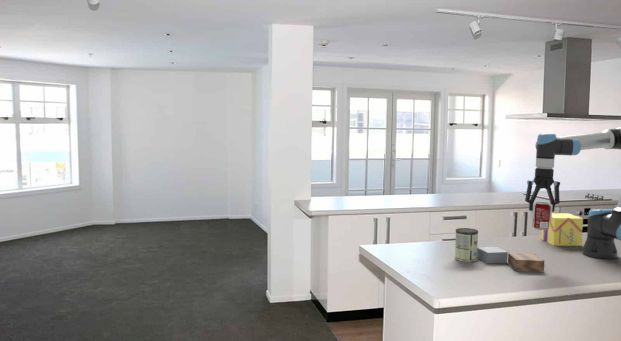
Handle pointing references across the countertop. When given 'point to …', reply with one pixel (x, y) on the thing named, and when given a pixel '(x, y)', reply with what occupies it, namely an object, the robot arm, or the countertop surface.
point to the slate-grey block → (492, 254)
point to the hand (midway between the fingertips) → (541, 218)
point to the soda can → (541, 216)
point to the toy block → (563, 230)
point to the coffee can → (466, 244)
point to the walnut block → (526, 262)
